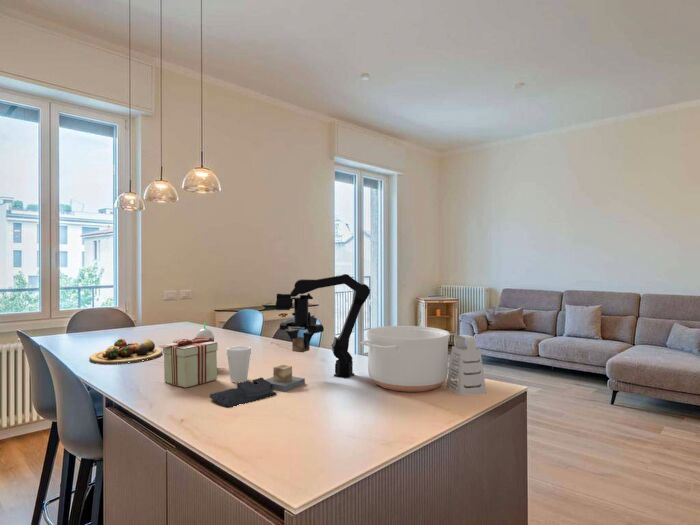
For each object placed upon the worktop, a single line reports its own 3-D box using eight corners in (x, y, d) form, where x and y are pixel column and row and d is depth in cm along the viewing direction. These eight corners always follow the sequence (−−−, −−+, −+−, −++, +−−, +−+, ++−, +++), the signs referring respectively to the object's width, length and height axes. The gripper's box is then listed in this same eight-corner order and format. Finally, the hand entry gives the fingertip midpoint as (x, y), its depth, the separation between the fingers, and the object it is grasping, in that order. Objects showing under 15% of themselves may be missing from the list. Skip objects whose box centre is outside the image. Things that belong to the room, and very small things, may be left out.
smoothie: (217, 365, 197) (217, 321, 197) (209, 369, 189) (209, 323, 189) (199, 364, 198) (199, 320, 198) (191, 369, 190) (191, 323, 190)
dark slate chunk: (202, 400, 149) (203, 386, 149) (256, 386, 165) (256, 374, 165) (227, 410, 139) (227, 395, 139) (281, 395, 155) (281, 381, 155)
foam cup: (236, 385, 165) (236, 351, 165) (221, 381, 171) (221, 348, 171) (255, 379, 173) (255, 347, 173) (241, 376, 178) (241, 344, 178)
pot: (408, 367, 194) (408, 322, 194) (471, 381, 172) (471, 330, 172) (340, 385, 165) (340, 332, 165) (406, 405, 143) (406, 344, 143)
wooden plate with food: (93, 354, 222) (93, 338, 221) (161, 348, 235) (160, 333, 235) (85, 369, 193) (85, 351, 192) (163, 361, 206) (163, 344, 206)
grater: (460, 395, 154) (460, 339, 153) (446, 387, 164) (446, 334, 164) (486, 393, 156) (486, 337, 156) (470, 385, 166) (471, 333, 166)
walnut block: (309, 350, 178) (309, 338, 178) (302, 352, 174) (302, 340, 174) (299, 349, 181) (299, 337, 181) (292, 351, 176) (292, 338, 176)
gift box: (189, 373, 183) (189, 332, 183) (220, 379, 173) (220, 336, 173) (153, 383, 168) (153, 338, 168) (184, 390, 159) (184, 343, 159)
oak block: (292, 379, 166) (292, 366, 166) (283, 382, 162) (283, 369, 162) (281, 377, 169) (281, 364, 169) (273, 380, 165) (273, 367, 165)
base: (304, 383, 168) (304, 378, 168) (285, 391, 157) (285, 386, 157) (280, 379, 174) (280, 374, 174) (260, 386, 163) (260, 381, 163)
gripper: (331, 309, 179) (330, 347, 179) (295, 307, 189) (295, 342, 189) (315, 312, 170) (315, 352, 170) (278, 309, 179) (278, 347, 179)
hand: (301, 348), depth 177 cm, fingers closed on walnut block, 5 cm apart
